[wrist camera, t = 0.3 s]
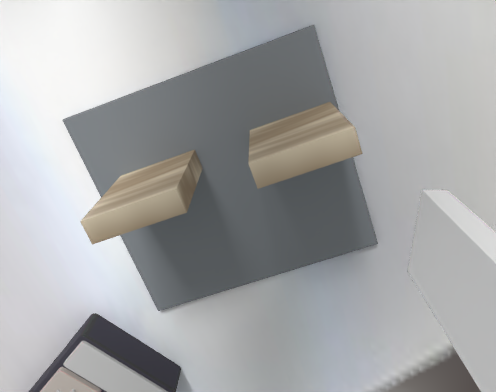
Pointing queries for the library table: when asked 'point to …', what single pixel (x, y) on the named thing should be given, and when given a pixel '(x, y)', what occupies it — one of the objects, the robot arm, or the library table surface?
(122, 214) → the tile
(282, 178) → the tile
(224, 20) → the library table surface
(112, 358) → the black red flat box
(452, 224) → the robot arm
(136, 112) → the mat
